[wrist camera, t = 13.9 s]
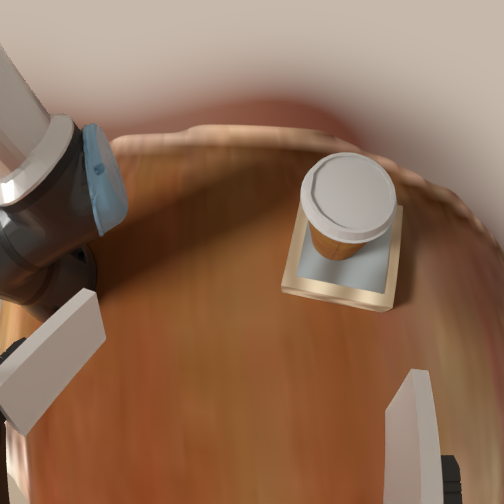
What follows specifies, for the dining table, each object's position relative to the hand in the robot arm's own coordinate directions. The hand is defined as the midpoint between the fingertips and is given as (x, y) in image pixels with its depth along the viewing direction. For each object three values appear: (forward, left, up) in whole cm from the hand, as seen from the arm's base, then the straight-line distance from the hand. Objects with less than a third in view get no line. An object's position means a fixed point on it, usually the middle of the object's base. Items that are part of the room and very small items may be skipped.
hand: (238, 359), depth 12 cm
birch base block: (+6, +16, -30) cm, 34 cm away
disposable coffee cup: (+4, +16, -26) cm, 31 cm away
